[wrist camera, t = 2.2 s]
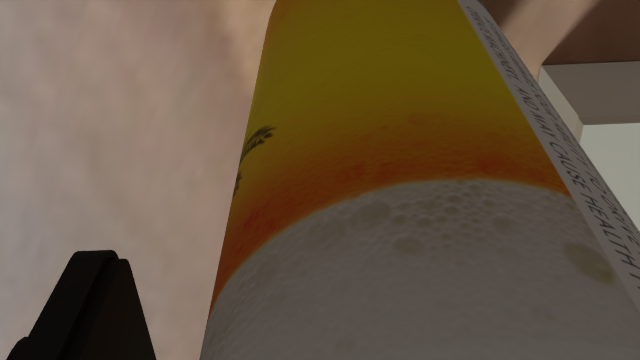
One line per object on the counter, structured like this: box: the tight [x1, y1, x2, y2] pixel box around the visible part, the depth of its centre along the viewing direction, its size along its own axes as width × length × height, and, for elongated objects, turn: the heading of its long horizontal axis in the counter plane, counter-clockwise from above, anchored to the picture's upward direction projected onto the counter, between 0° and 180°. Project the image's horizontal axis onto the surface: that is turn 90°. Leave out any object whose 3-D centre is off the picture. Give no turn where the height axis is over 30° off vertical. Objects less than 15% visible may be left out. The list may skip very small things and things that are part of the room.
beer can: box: [199, 0, 640, 360], centre depth 12 cm, size 6×6×15 cm
